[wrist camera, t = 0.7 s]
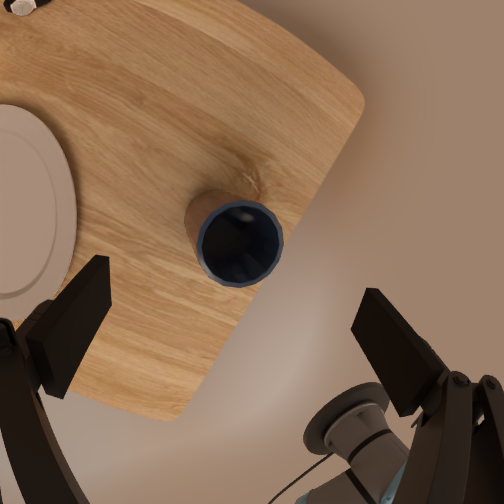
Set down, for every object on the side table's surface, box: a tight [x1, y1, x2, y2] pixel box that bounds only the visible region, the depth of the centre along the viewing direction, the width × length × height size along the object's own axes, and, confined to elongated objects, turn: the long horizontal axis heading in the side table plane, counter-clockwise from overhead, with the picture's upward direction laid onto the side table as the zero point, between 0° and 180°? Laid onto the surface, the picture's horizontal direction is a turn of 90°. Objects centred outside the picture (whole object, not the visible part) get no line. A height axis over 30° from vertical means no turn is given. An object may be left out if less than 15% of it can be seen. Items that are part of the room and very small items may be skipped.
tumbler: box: [184, 190, 284, 288], centre depth 27 cm, size 7×7×11 cm
